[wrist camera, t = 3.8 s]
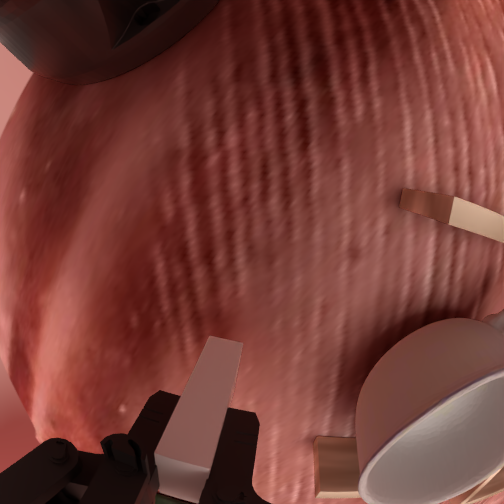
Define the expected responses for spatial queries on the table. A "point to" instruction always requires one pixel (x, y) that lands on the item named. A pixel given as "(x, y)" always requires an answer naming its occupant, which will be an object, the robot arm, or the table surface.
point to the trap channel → (345, 449)
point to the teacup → (433, 413)
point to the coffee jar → (166, 500)
